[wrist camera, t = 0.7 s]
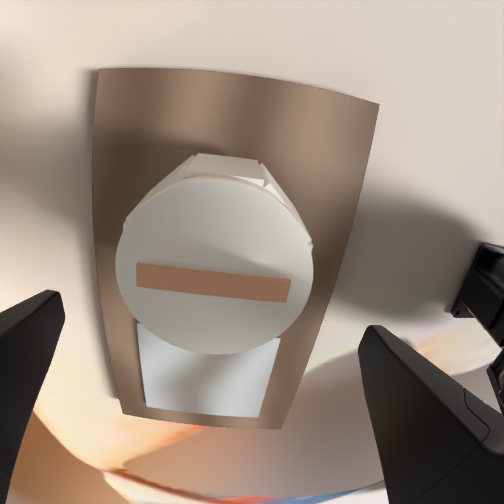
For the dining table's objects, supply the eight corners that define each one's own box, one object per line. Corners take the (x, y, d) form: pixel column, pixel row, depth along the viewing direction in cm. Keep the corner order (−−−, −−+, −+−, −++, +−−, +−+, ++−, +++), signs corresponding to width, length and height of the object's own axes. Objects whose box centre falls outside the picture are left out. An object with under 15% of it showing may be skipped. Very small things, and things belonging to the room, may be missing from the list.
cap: (305, 167, 13) (336, 200, 9) (277, 296, 16) (290, 363, 12) (150, 149, 13) (110, 174, 8) (147, 282, 15) (121, 345, 11)
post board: (368, 103, 15) (440, 111, 9) (279, 416, 27) (287, 481, 20) (109, 71, 14) (39, 61, 7) (126, 401, 25) (110, 465, 19)
